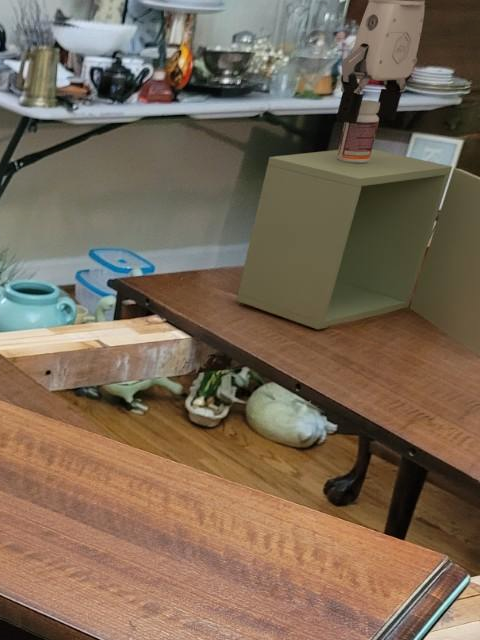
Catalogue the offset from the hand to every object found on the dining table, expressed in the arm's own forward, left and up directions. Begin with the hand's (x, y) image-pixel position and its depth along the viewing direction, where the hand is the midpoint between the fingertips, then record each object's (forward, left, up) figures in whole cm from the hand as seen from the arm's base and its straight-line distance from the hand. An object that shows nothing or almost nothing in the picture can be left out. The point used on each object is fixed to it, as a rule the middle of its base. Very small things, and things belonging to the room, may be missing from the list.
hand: (365, 120), depth 167 cm
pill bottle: (0, 0, -6) cm, 6 cm away
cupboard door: (-22, -9, -28) cm, 37 cm away
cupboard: (-1, -1, -28) cm, 28 cm away
